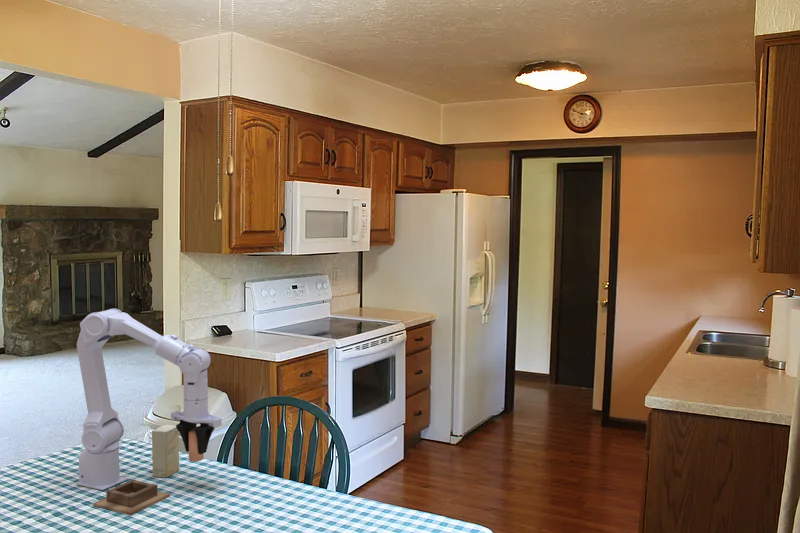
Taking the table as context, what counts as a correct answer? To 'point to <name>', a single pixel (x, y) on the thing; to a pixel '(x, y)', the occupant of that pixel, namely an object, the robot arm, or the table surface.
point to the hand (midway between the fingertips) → (196, 451)
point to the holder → (131, 497)
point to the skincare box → (165, 451)
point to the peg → (194, 447)
